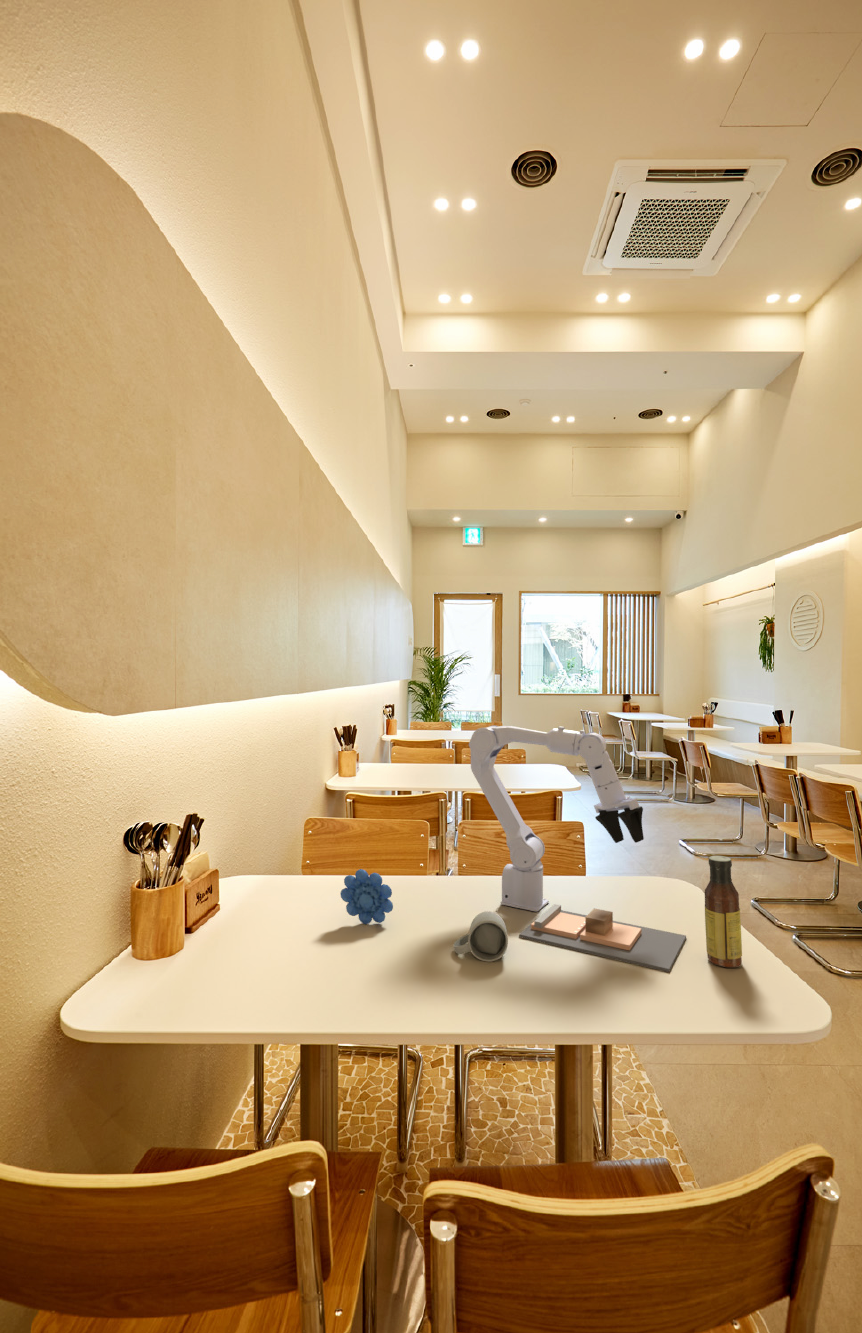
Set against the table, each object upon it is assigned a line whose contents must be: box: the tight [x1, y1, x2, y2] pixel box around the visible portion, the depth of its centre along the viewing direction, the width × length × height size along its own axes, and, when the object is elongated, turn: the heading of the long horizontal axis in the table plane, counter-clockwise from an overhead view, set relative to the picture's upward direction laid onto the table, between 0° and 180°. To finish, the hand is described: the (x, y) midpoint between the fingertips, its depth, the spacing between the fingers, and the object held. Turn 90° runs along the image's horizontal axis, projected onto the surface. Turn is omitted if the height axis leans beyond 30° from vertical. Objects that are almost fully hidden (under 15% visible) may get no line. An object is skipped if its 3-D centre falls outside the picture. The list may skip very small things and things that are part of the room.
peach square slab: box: [580, 908, 641, 951], centre depth 131 cm, size 10×10×4 cm
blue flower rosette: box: [340, 868, 394, 925], centre depth 138 cm, size 12×7×12 cm, turn 91°
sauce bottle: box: [704, 855, 743, 969], centre depth 121 cm, size 6×6×20 cm
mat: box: [518, 909, 687, 973], centre depth 132 cm, size 30×18×1 cm, turn 59°
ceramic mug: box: [452, 910, 509, 963], centre depth 125 cm, size 11×8×8 cm
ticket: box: [530, 903, 585, 939], centre depth 137 cm, size 10×12×2 cm
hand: (629, 841), depth 142 cm, fingers open, 7 cm apart
